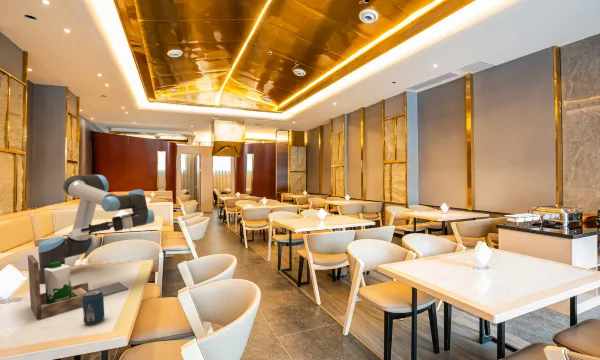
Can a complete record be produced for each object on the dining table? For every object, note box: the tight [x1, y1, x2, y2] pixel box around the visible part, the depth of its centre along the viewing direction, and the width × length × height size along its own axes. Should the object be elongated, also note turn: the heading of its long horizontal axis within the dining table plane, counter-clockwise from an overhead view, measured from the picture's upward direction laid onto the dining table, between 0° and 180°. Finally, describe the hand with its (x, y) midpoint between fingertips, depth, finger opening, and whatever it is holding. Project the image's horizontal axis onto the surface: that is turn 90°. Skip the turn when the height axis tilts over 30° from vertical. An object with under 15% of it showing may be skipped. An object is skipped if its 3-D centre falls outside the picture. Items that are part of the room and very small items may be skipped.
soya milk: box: [44, 261, 72, 305], centre depth 138 cm, size 9×9×20 cm
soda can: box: [82, 290, 105, 326], centre depth 122 cm, size 7×7×12 cm
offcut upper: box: [71, 288, 87, 297], centre depth 144 cm, size 4×11×2 cm, turn 51°
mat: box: [88, 282, 129, 298], centre depth 156 cm, size 14×14×1 cm
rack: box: [27, 254, 90, 321], centre depth 140 cm, size 22×20×24 cm
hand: (72, 233), depth 146 cm, fingers open, 13 cm apart
